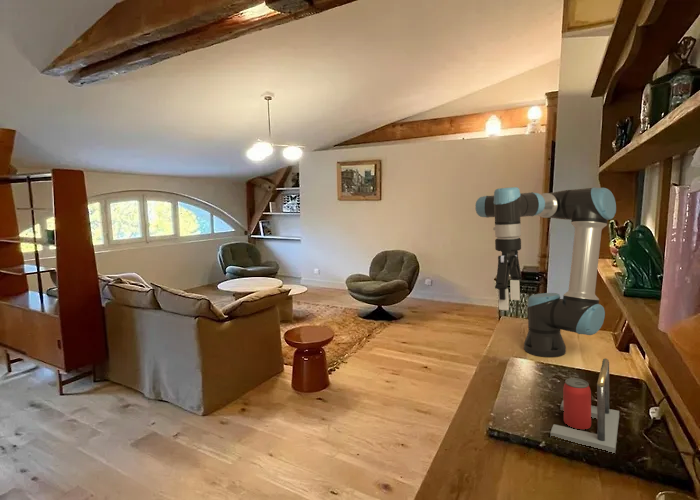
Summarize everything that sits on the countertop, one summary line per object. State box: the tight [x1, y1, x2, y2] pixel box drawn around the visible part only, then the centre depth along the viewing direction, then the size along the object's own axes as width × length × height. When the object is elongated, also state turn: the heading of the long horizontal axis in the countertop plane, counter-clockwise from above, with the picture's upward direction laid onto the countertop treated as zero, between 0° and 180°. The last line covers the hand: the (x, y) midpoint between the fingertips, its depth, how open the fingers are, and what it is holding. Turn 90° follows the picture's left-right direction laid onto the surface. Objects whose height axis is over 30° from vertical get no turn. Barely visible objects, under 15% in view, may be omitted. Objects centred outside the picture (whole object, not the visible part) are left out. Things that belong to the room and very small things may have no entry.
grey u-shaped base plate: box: [549, 400, 620, 454], centre depth 109 cm, size 20×14×2 cm
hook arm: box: [596, 358, 610, 441], centre depth 106 cm, size 17×2×17 cm, turn 144°
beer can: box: [562, 377, 592, 431], centre depth 110 cm, size 7×7×12 cm
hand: (509, 304), depth 129 cm, fingers open, 13 cm apart
